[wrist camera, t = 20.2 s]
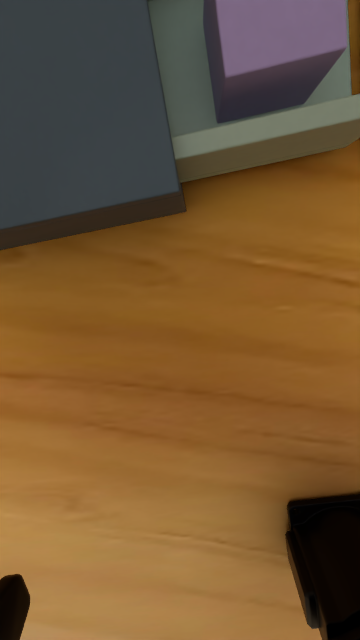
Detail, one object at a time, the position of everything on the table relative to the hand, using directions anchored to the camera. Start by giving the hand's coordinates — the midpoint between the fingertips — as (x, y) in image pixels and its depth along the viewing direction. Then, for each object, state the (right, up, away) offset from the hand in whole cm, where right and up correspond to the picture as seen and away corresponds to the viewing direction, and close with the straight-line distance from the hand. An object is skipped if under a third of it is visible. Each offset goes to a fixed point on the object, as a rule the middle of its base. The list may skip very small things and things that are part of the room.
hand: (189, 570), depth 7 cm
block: (+3, +18, +6) cm, 19 cm away
